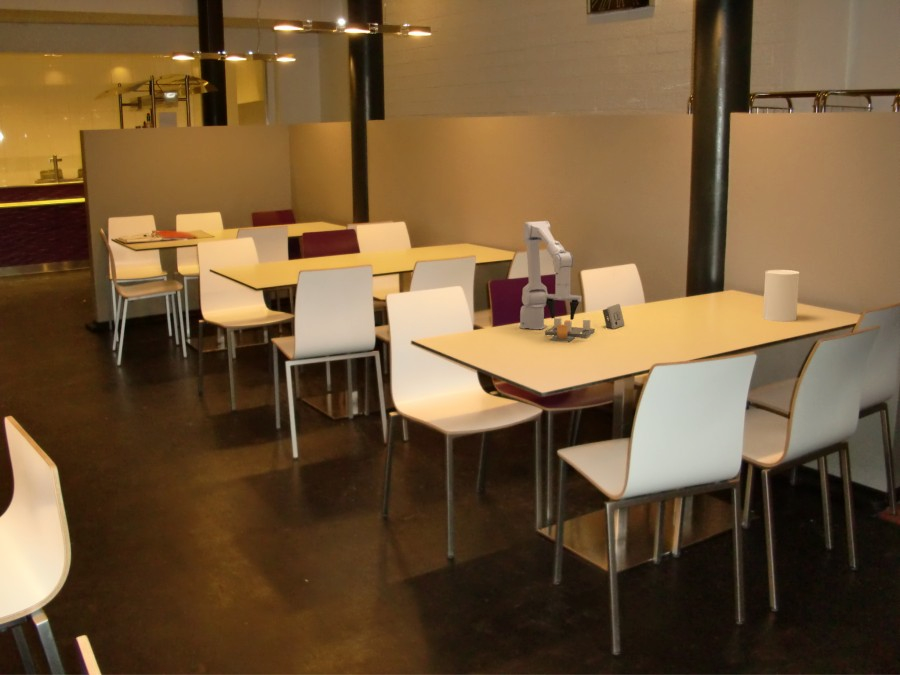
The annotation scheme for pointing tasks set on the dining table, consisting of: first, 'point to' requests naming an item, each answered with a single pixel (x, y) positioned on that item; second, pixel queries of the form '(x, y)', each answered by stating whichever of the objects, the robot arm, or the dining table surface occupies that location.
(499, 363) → the dining table surface
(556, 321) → the block
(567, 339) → the mat
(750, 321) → the dining table surface
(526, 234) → the robot arm
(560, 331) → the cap
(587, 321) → the block
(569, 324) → the block
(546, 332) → the panel
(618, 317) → the electrical switch
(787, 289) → the canister
